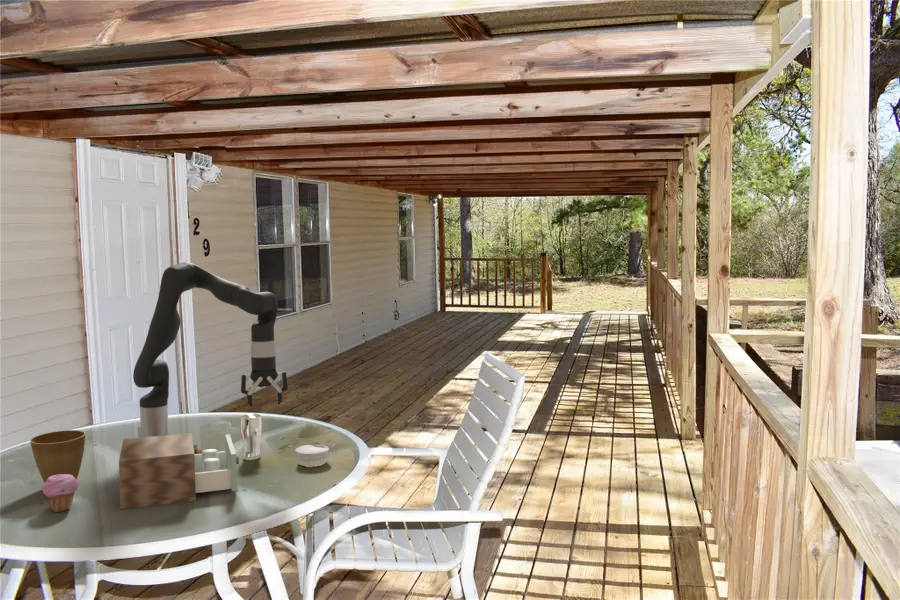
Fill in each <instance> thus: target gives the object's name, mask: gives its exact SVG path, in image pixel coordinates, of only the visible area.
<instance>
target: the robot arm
mask: <svg viewBox="0 0 900 600" xmlns="http://www.w3.org/2000/svg"><path fill="white" fill-rule="evenodd" d="M159 285H160V286H159V292H158V297H157V301H156V306H155V308H154V311H153V314H152V318H151V320H150V325H149V326H148V327H149V328H148V331H147V335H146V339H145V342H144V345H143V347H142V350H141V352H140V354H139V356H138V359H137V361H136V363H135V366H134V368H133V375H132V377H133V378H132V379H133V384H135V386H136V387H137V388H139V389H142V388H143V389H147V388H152V390H150V391H149V392H148V393H146V394H145V395H142V397H141V398H140V399H139V417H140V418H139V420H140V421H139V422H140V425H139V426H138V428H137V438H141V437H152V436H163V435H170V433H169V432H170V431H169V405H168V404H169V402H168V401H169V400H168V399H169V396H170V395H169V394H170V390H169V388H170V369H169V366H168V363H167V361H165V360H164V359H158V358H159V356H161V355H162V354H163V353H164V352H165V351H166V350H167V349H168V348H170V346H171V345H172V344H174V342H175V340H176V339H177V337H178V332H179V330H180V326H181V318H180V314H179V311H178V308H177V307H178V303H179V300H180V298H181V296H182V294H183V293H184V292H187V291H190V290H192V289H195V288H197V289H203V290H207V291H208V292H211V294H212V295H213V296H214V297H215V298H216V299H218V300H219V301H220V302H223V303H225V304H229V305H231V306H234V307H238V308H239V309H240V310H242V311H244V312H245V313H247V314H250V315H255V316H257V319H256V321H255V322H254V323H253V324H251V328H250V330H251V331H250V332H251V336H250V337H251V343H250V360H251V361H250V362H251V371H250V372H251V373H250V374H245V373H241V377H240V378H241V381H240V392H241V394H244V395H246V401H247V405H248V406H249V407H250V408H251V407H253V393H254V392H255V390H256V389H257V388H258V387H259V388H263V387H266V388H267V387H270V386H273V388H274V389H275V390H276V391H277V392H276V404H277V405H281V403H282V402H283V395H282V394H283V392H285V391H288V379H287V376H288V375H287V372H286V371H285V370H283V371H282V370H281V371H280V372H277V364H276V363H277V361H276V360H277V357H276V344H275V343H276V342H275V328H274V327H275V324H276V320H277V314H278V306H279V303H278V299H277V297H276V295H275V294H274V293H272V292H270V291H261V292H255V291H251V290H250V288H249V287H247V286H246V285H242V284H240V283H237V282H234V281H230V280H227V279H225V278H222V277H221V276H217V275H215V274H213V273H212V272H210V271H208V270H206V269H204V268H202V267H200V266H199V265H197V264H194V263H192V262H190V261H184V262H181V263H180V262H179V263H177V264H174V265H171V266H169V267H167V268H165V270H164V271H163V273H162V275H161V280H160V284H159ZM277 377H279V378H280V379H281V382H282V386H281V387H280V385H278V384H277V382H276V379H277ZM249 380H252V383H251V385H250V386H249V388H248V389H246V387H247V385H246V384H247V382H248V381H249Z"/></svg>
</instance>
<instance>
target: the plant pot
mask: <svg viewBox="0 0 900 600" xmlns="http://www.w3.org/2000/svg"><path fill="white" fill-rule="evenodd" d="M29 443H30V447H31V451H32V454H33V458H34V460H35V465H36V467H37V470H38V472H39V474H40V477H41V479H42V481H43V484H44V483H45V482H46V480H47V479H48V478H49V477H50V476H53V475H58V474H70V475H73V476H74V478H75V479H76V480H78V476H79V473H80V470H81V467H82V462H83V456H84V451H85V443H86V432H85V431H83V430H77V429H76V430H75V429H69V430H68V429H67V430H58V431H57V430H56V431H51V432H46V433H42V434H41V433H40V434H38V435H36V436H33V437H32V438H30V440H29Z"/></svg>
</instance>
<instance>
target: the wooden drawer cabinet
mask: <svg viewBox="0 0 900 600" xmlns="http://www.w3.org/2000/svg"><path fill="white" fill-rule="evenodd" d="M193 444H194V440H193V433H192V432H188V433H186V432H185V433H176V434H175V433H174V434H169V435H163V436H152V437H141V438H138V437H133V438H131V437H130V438H123V439H122V446H121V450H120V452H119V453H120V455H119V459H118V472H119V473H118V474H119V503H120V510H121V511H122V510H129V509H139V508H146V507H152V506H161V505H169V504H179V503H185V502H184V501H187V502H191V501H190V500H195V501H197V498H196V494H197V493H195V456H194V447H193ZM178 502H179V503H178Z"/></svg>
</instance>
